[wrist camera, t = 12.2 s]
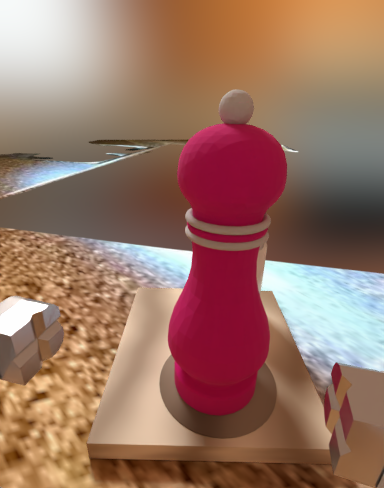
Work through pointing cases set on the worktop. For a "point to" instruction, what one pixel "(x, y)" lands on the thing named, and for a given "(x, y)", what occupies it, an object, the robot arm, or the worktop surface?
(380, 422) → the robot arm
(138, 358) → the condiment board
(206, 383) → the pepper mill
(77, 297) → the worktop surface
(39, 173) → the worktop surface
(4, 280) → the worktop surface
